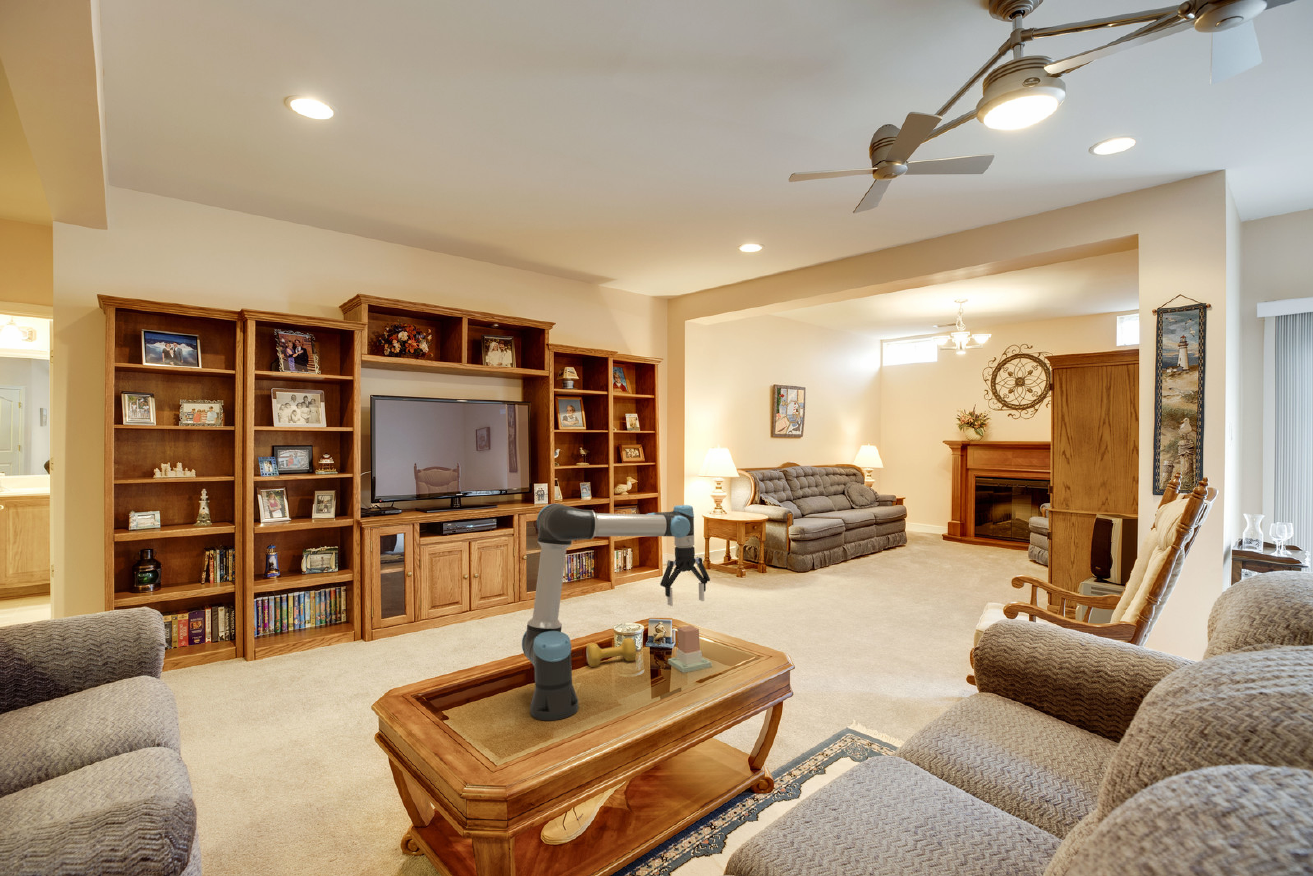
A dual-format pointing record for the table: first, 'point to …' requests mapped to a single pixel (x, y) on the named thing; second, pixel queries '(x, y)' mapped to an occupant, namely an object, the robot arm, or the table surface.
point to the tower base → (690, 667)
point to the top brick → (688, 639)
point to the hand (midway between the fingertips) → (686, 602)
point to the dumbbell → (611, 652)
